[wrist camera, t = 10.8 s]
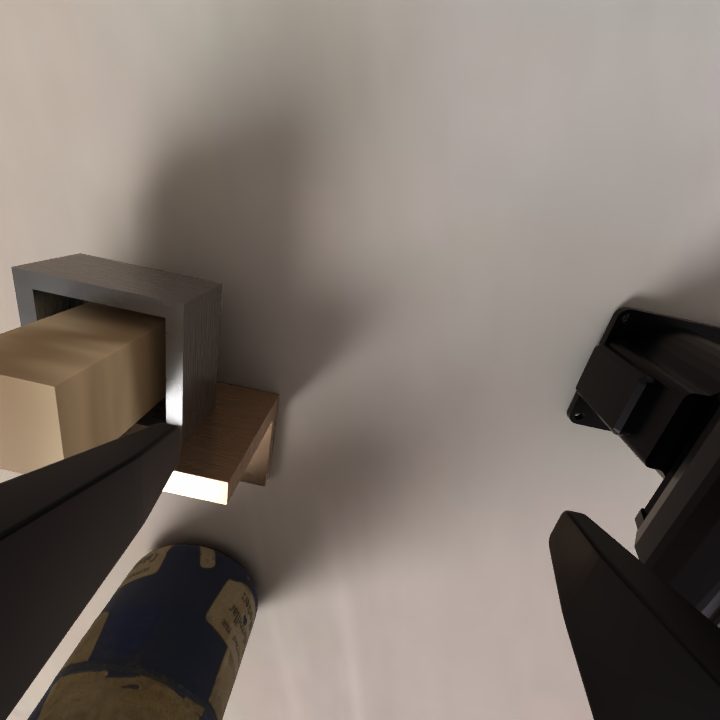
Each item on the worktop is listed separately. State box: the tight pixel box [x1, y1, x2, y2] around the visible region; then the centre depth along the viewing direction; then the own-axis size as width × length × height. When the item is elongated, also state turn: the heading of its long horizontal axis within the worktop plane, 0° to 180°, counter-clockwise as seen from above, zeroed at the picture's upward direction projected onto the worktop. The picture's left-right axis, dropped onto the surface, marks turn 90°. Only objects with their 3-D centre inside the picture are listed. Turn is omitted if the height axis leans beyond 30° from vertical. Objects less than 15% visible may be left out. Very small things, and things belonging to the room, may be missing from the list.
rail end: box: [0, 302, 166, 474], centre depth 15 cm, size 4×4×7 cm
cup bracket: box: [12, 253, 279, 505], centre depth 19 cm, size 12×13×8 cm
